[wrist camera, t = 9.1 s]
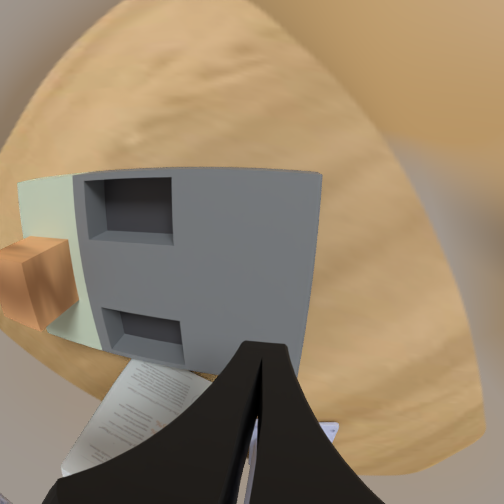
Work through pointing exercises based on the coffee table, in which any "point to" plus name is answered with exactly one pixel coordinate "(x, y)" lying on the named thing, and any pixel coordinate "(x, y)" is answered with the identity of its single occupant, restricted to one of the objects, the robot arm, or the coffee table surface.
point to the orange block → (37, 281)
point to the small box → (133, 412)
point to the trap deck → (182, 258)
